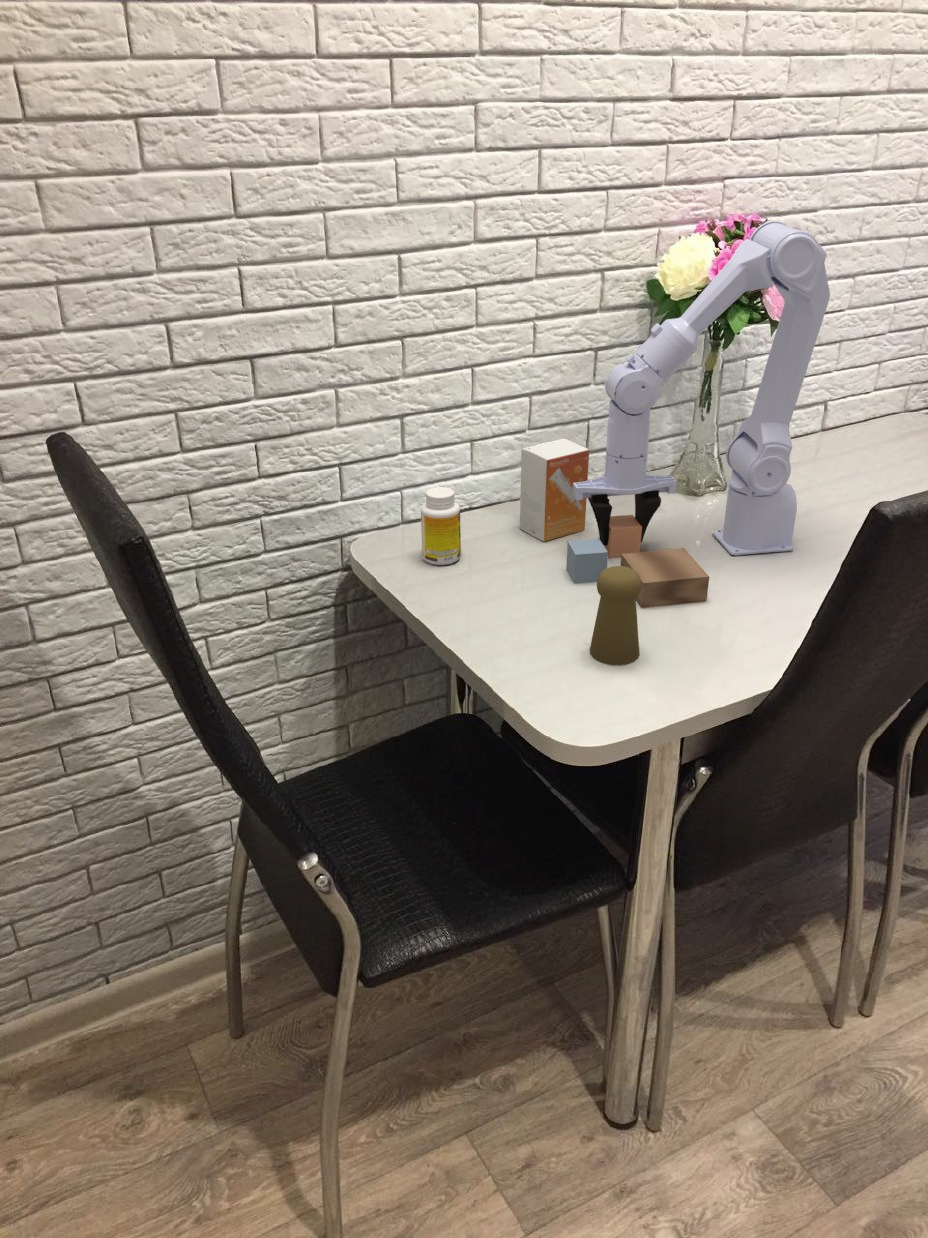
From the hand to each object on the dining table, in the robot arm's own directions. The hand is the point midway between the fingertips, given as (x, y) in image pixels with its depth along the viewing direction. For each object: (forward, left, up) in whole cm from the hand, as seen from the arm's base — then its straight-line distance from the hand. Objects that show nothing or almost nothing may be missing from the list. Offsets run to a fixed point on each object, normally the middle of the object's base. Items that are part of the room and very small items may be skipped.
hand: (620, 541), depth 150 cm
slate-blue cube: (+7, +7, -2) cm, 10 cm away
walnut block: (-2, +13, -2) cm, 13 cm away
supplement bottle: (+26, -2, -2) cm, 26 cm away
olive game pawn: (+9, +28, -2) cm, 29 cm away
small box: (+8, -9, -2) cm, 12 cm away
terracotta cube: (0, 0, -1) cm, 1 cm away
